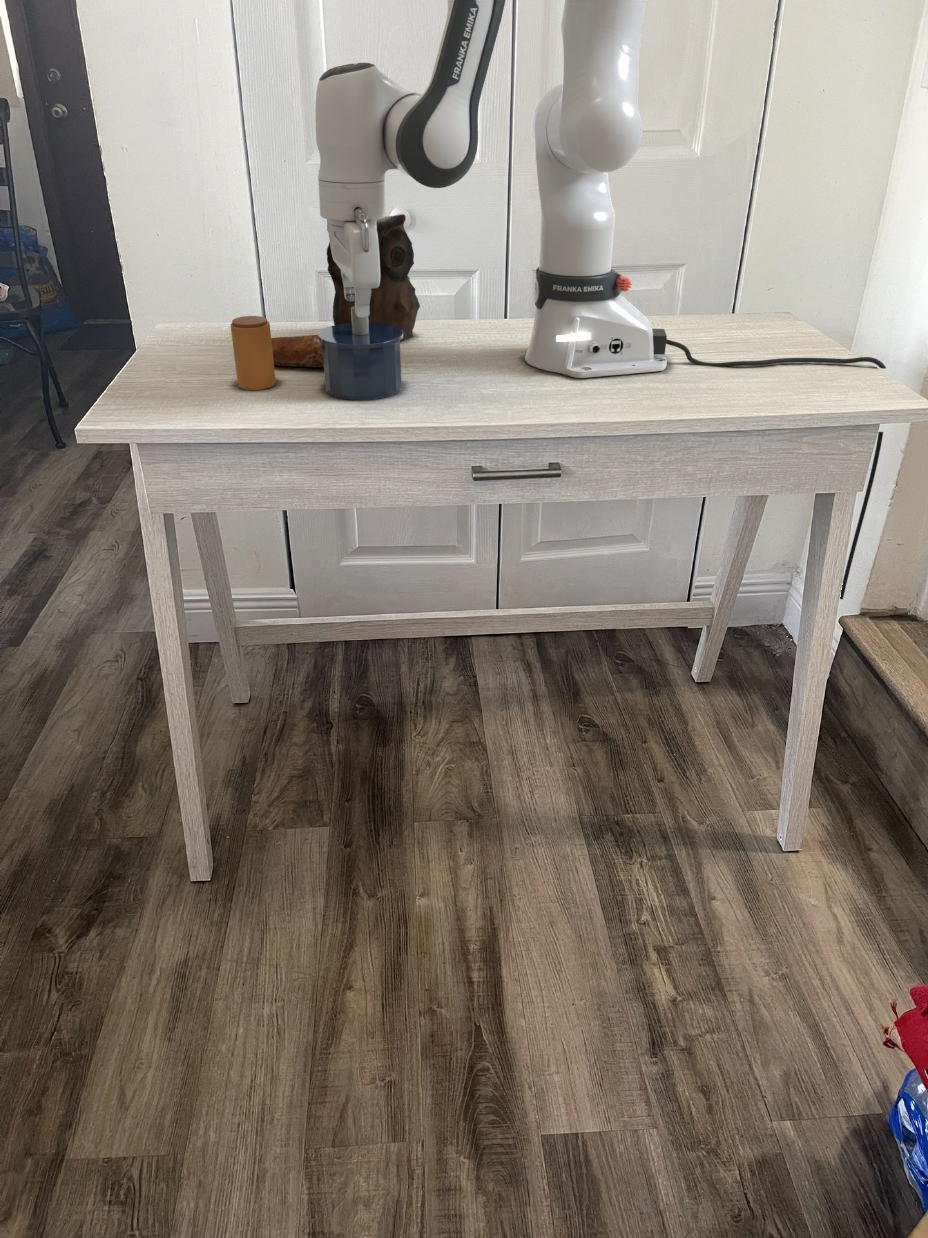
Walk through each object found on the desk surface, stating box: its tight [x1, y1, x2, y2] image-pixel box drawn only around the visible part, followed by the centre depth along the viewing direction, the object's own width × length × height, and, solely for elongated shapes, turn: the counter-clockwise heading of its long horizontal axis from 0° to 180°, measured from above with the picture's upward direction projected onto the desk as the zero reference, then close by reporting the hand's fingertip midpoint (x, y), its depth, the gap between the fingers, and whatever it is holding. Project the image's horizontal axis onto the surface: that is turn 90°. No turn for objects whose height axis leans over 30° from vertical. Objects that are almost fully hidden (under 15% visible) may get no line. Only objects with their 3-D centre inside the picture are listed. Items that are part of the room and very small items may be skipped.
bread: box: [271, 334, 324, 369], centre depth 148 cm, size 6×19×6 cm, turn 80°
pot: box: [322, 341, 402, 401], centre depth 138 cm, size 11×11×8 cm
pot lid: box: [317, 306, 403, 349], centre depth 136 cm, size 12×12×5 cm
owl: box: [326, 213, 421, 342], centre depth 158 cm, size 13×13×20 cm
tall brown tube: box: [229, 315, 277, 391], centre depth 139 cm, size 6×6×10 cm
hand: (356, 307), depth 134 cm, fingers open, 8 cm apart
